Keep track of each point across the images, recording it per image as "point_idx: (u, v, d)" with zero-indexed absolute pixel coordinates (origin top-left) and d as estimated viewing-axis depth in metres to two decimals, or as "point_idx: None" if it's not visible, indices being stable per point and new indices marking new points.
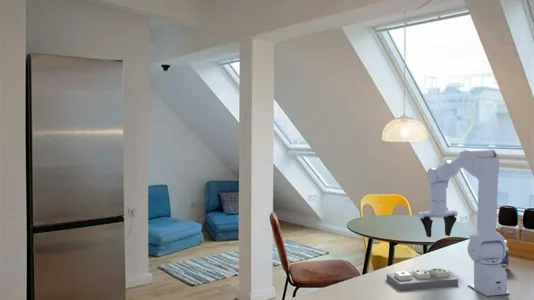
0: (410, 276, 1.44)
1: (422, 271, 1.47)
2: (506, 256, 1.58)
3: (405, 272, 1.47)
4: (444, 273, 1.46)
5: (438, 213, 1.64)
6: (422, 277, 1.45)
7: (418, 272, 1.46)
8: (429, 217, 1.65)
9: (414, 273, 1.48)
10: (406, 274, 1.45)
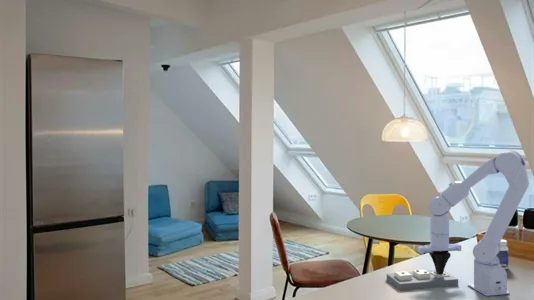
0: (410, 276, 1.44)
1: (422, 271, 1.47)
2: (506, 256, 1.58)
3: (405, 272, 1.47)
4: (444, 276, 1.46)
5: (440, 248, 1.45)
6: (422, 277, 1.45)
7: (418, 272, 1.46)
8: (429, 252, 1.46)
9: (414, 273, 1.48)
10: (406, 274, 1.45)
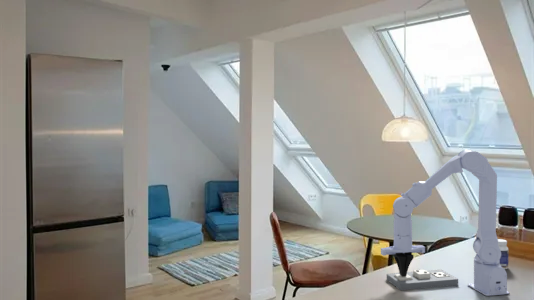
0: (410, 278, 1.44)
1: (422, 271, 1.47)
2: (506, 256, 1.58)
3: None
4: None
5: (402, 250, 1.43)
6: (422, 277, 1.45)
7: (418, 272, 1.46)
8: None
9: (414, 273, 1.48)
10: (406, 276, 1.45)
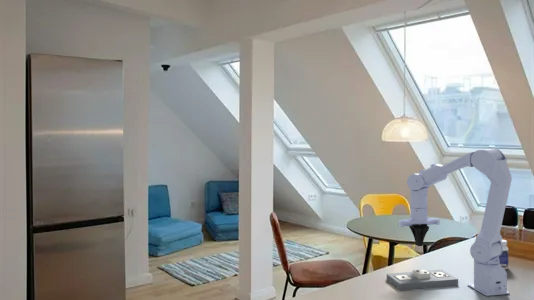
0: None
1: (422, 271, 1.47)
2: (506, 256, 1.58)
3: (405, 276, 1.47)
4: None
5: (418, 221, 1.54)
6: (422, 277, 1.45)
7: (418, 272, 1.46)
8: (409, 225, 1.55)
9: (414, 273, 1.48)
10: (406, 278, 1.45)
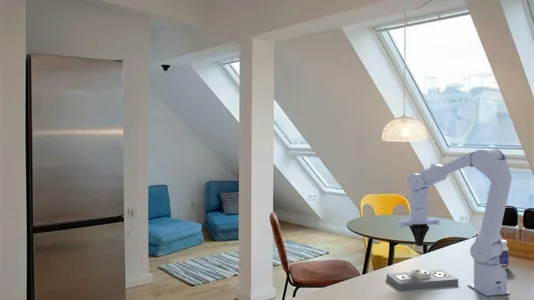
0: None
1: (422, 271, 1.47)
2: (506, 256, 1.58)
3: (405, 276, 1.47)
4: None
5: (418, 221, 1.54)
6: (422, 277, 1.45)
7: (418, 272, 1.46)
8: (409, 225, 1.55)
9: (414, 273, 1.48)
10: (406, 278, 1.45)
